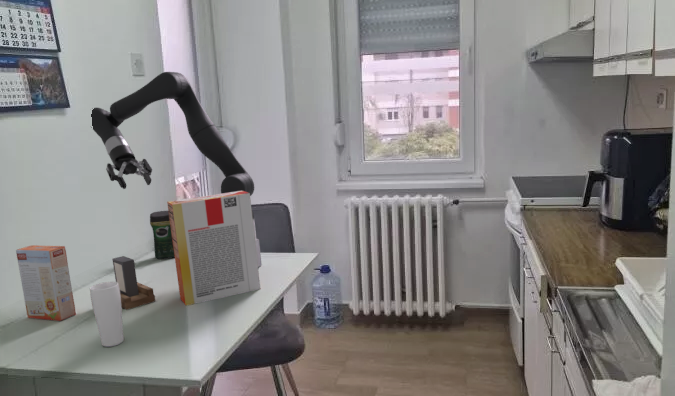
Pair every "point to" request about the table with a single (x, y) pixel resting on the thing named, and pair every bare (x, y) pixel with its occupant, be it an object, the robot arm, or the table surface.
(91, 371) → the table surface
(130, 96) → the robot arm
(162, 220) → the coffee jar
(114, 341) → the drinking glass
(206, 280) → the pasta box
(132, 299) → the wooden channel tray
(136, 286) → the dark grey block
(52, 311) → the cracker box
